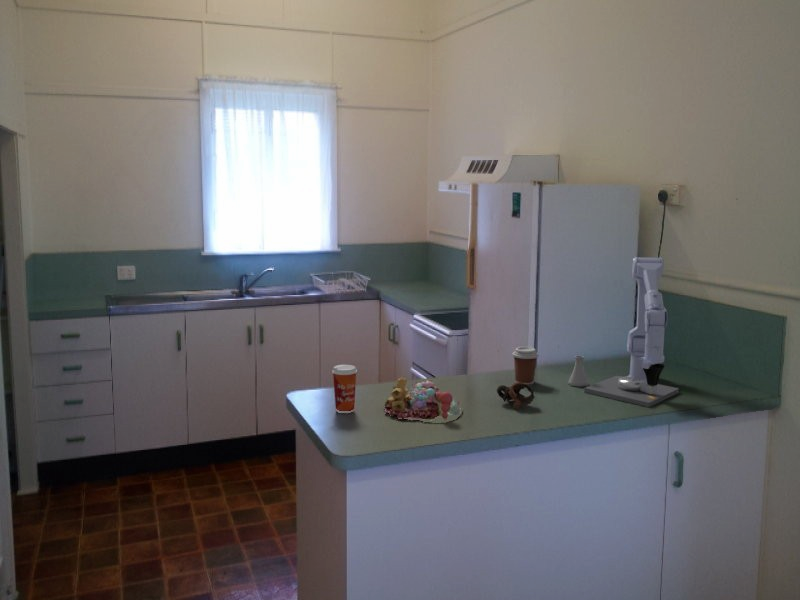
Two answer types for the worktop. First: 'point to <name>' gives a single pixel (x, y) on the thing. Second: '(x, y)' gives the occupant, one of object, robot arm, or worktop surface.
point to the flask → (578, 373)
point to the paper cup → (344, 386)
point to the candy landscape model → (421, 402)
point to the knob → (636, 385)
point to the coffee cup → (525, 364)
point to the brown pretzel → (516, 394)
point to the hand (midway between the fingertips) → (652, 386)
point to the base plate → (630, 392)
